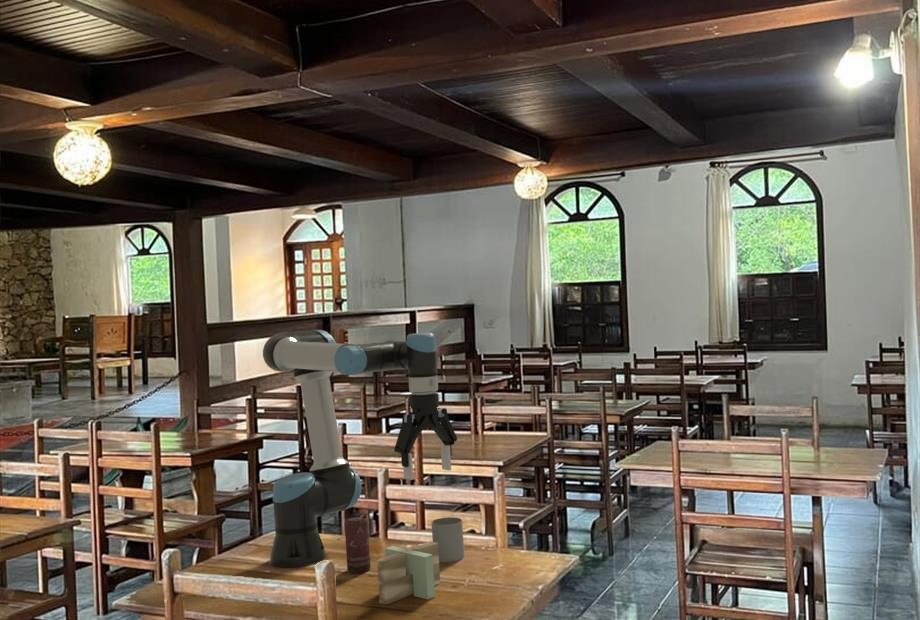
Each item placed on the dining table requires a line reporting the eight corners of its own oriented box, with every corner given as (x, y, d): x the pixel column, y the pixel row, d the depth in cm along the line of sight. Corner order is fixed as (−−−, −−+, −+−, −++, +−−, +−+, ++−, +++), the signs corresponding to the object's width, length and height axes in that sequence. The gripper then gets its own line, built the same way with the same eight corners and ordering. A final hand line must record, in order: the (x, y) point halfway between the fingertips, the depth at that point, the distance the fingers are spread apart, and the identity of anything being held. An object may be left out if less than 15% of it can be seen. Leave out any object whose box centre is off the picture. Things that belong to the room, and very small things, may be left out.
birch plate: (379, 602, 198) (377, 560, 198) (433, 581, 212) (431, 541, 212) (386, 604, 197) (383, 561, 197) (440, 583, 210) (437, 543, 210)
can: (375, 567, 227) (372, 515, 227) (362, 574, 221) (359, 521, 221) (355, 565, 229) (352, 514, 229) (343, 572, 223) (340, 520, 223)
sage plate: (387, 588, 208) (385, 548, 208) (395, 586, 210) (392, 545, 210) (427, 599, 199) (425, 557, 199) (435, 596, 200) (432, 554, 200)
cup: (460, 562, 227) (458, 525, 227) (430, 562, 228) (428, 525, 228) (466, 553, 235) (464, 517, 235) (437, 553, 236) (435, 517, 236)
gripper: (397, 399, 208) (401, 485, 208) (467, 387, 226) (471, 467, 226) (377, 397, 213) (382, 481, 213) (447, 387, 231) (451, 464, 231)
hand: (428, 474), depth 220 cm, fingers open, 13 cm apart
